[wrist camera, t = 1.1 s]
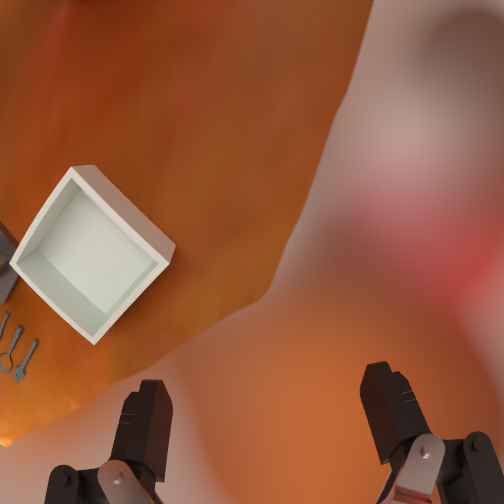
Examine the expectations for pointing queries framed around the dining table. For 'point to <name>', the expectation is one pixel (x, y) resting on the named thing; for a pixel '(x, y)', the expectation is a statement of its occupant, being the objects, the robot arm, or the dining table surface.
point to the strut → (2, 262)
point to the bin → (91, 252)
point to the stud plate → (7, 264)
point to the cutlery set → (19, 369)
